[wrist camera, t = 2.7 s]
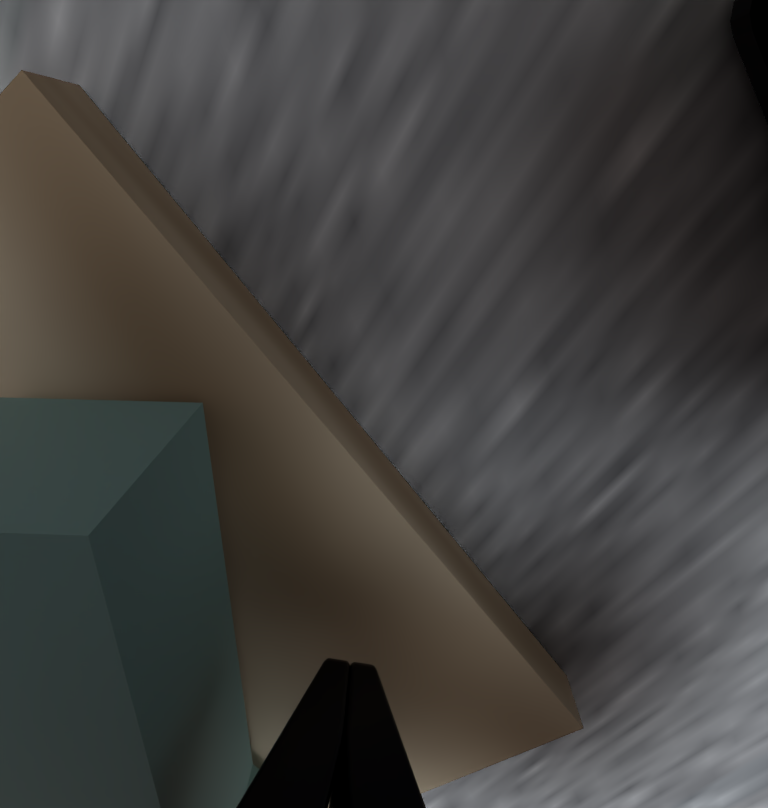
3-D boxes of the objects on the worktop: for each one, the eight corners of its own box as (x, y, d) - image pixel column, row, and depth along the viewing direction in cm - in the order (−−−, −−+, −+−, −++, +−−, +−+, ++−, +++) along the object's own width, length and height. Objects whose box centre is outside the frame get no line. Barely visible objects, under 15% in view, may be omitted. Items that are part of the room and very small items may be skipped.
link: (286, 855, 12) (237, 1147, 9) (116, 847, 12) (-5, 1133, 9) (237, 403, 8) (80, 623, 4) (-36, 396, 8) (-442, 605, 4)
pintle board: (78, 85, 7) (-1146, -235, 2) (566, 675, 12) (726, 1170, 6) (-378, 567, 11) (-1199, 985, 5) (112, 873, 16) (-57, 1284, 10)
